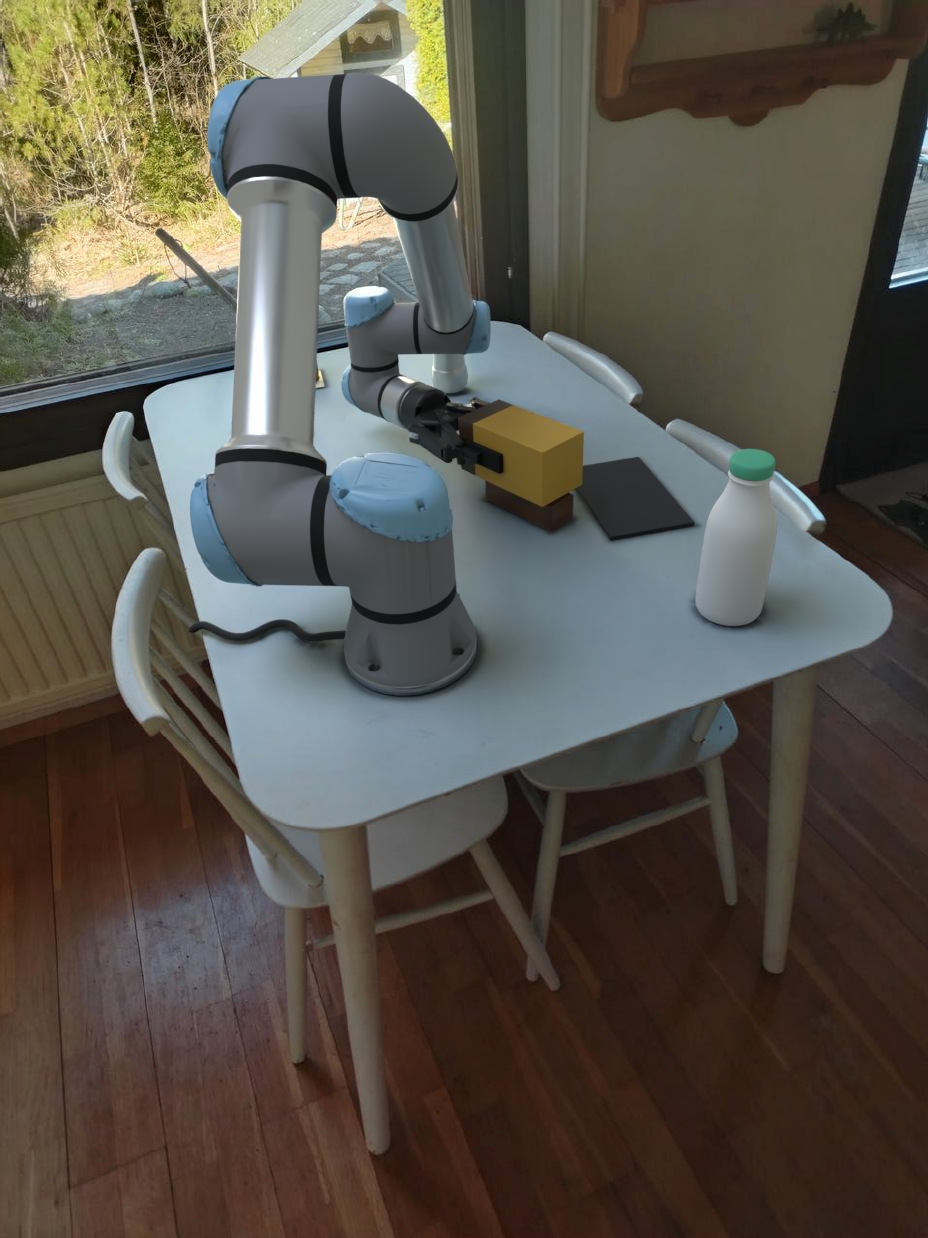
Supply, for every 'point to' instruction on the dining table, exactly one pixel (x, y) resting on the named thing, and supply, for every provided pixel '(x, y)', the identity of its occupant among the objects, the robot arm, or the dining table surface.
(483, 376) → the dining table surface
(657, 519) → the mat
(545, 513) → the walnut block
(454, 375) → the plastic bottle
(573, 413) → the dining table surface
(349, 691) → the dining table surface
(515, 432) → the tea tin
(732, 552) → the milk bottle
